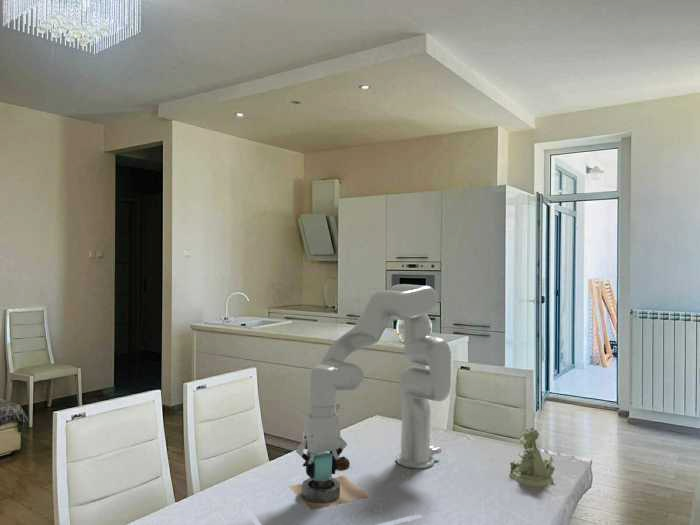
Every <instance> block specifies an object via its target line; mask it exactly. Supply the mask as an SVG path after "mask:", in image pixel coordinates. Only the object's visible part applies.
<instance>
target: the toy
mask: <svg viewBox="0 0 700 525" xmlns="http://www.w3.org/2000/svg"><path fill="white" fill-rule="evenodd" d="M349 460H350V459H348V458H346V457H345V456H344V455H343V456H338V459H337V463H336V470H337V469H338V470H347V469H350V466H351V465H350V461H349ZM302 467H306V461H305V460H304V463H303V464H302Z"/></svg>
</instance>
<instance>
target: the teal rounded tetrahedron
mask: <svg viewBox="0 0 700 525" xmlns="http://www.w3.org/2000/svg"><path fill="white" fill-rule="evenodd" d="M313 464H314V477H313V478H311V479H312V480H314V481H328V480H330V479H331V478H333V474H332V454H330V453H329V452H328V451H327V452H321V453H316V454H315V456H314V459H313Z"/></svg>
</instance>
